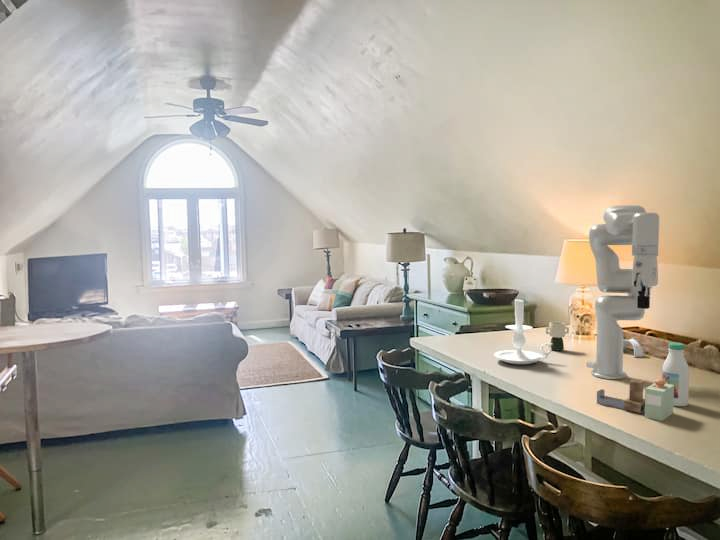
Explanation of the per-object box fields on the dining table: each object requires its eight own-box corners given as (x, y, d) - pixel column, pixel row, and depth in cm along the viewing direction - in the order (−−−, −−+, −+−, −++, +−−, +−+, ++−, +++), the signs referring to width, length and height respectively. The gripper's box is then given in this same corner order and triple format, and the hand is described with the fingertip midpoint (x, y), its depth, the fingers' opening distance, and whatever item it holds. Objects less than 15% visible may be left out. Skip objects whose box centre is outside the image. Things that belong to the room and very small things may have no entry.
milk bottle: (678, 399, 186) (680, 341, 184) (693, 406, 178) (695, 345, 177) (656, 400, 186) (658, 341, 184) (669, 407, 178) (672, 346, 176)
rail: (596, 403, 182) (596, 391, 182) (601, 400, 185) (601, 389, 185) (648, 414, 171) (648, 402, 171) (652, 411, 173) (652, 399, 173)
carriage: (623, 409, 175) (624, 381, 174) (631, 404, 179) (632, 378, 179) (640, 412, 171) (641, 385, 171) (647, 408, 176) (648, 381, 175)
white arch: (596, 347, 269) (596, 333, 268) (617, 346, 271) (618, 332, 270) (628, 358, 245) (628, 342, 245) (651, 357, 248) (652, 341, 247)
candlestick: (559, 368, 228) (560, 301, 226) (498, 368, 229) (499, 301, 227) (545, 357, 248) (546, 295, 246) (490, 356, 250) (490, 295, 248)
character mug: (565, 348, 266) (566, 321, 265) (571, 351, 259) (571, 324, 258) (543, 348, 266) (543, 322, 265) (547, 351, 259) (548, 324, 258)
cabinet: (644, 417, 168) (644, 388, 168) (655, 409, 176) (656, 381, 175) (661, 421, 165) (662, 392, 164) (673, 413, 172) (674, 385, 171)
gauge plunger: (652, 402, 170) (653, 380, 170) (655, 399, 172) (656, 378, 172) (663, 404, 168) (663, 382, 168) (666, 402, 170) (667, 380, 170)
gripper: (649, 252, 168) (647, 311, 170) (665, 250, 179) (663, 306, 180) (623, 251, 174) (622, 309, 175) (641, 250, 184) (639, 304, 185)
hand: (643, 308), depth 178 cm, fingers closed
